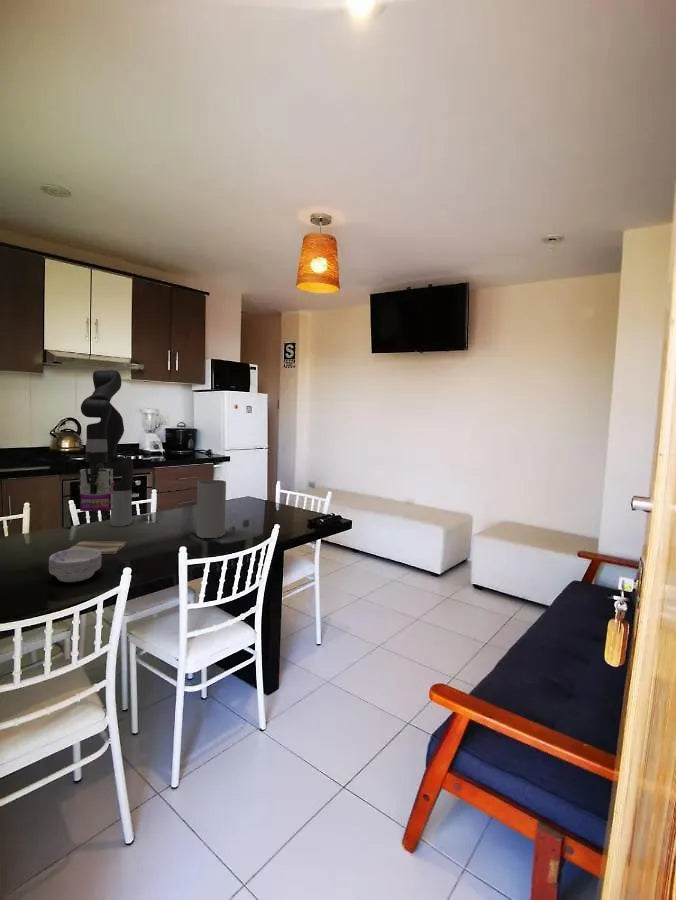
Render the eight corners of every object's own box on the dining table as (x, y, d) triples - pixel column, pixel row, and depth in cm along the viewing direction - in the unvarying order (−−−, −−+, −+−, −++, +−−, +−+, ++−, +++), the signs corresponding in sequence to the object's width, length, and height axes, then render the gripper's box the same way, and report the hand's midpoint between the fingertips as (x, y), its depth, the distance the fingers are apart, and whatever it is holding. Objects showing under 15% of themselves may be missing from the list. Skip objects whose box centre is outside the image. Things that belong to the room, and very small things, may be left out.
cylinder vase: (198, 532, 211) (198, 479, 209) (225, 531, 214) (226, 479, 212) (195, 539, 199) (196, 483, 197) (224, 539, 202) (225, 484, 200)
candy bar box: (113, 508, 183) (113, 468, 182) (110, 510, 178) (110, 469, 177) (83, 508, 180) (82, 468, 179) (79, 511, 175) (79, 469, 174)
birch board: (81, 543, 186) (81, 541, 186) (126, 544, 188) (126, 541, 188) (64, 554, 172) (64, 551, 172) (113, 554, 174) (113, 551, 174)
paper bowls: (104, 580, 148) (104, 557, 148) (50, 589, 140) (50, 564, 139) (98, 566, 161) (98, 545, 160) (47, 574, 152) (47, 551, 151)
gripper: (94, 448, 184) (94, 489, 185) (78, 451, 170) (78, 495, 171) (113, 449, 185) (113, 489, 186) (98, 452, 170) (99, 496, 172)
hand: (96, 492), depth 178 cm, fingers closed on candy bar box, 5 cm apart
